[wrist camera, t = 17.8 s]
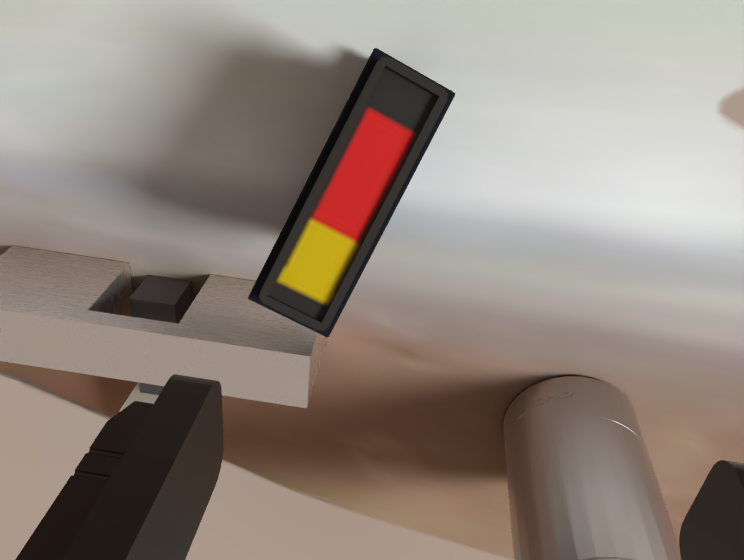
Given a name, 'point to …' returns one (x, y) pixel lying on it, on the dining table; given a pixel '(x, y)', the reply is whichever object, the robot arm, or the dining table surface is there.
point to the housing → (150, 330)
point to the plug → (158, 317)
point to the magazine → (351, 193)
